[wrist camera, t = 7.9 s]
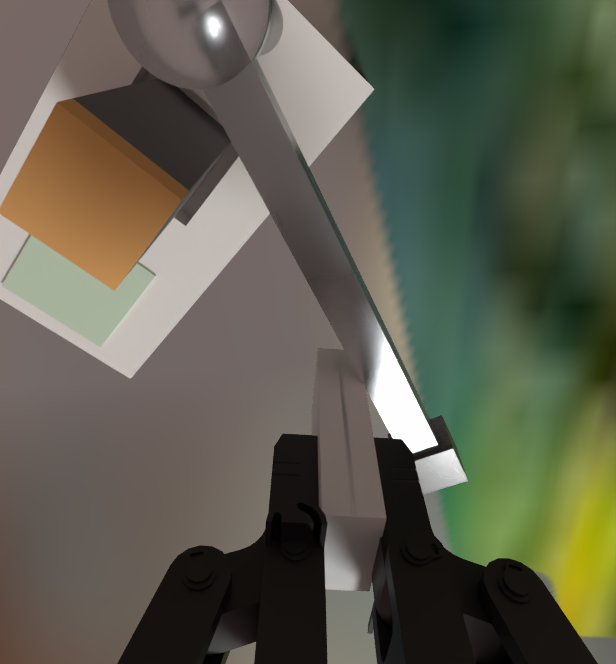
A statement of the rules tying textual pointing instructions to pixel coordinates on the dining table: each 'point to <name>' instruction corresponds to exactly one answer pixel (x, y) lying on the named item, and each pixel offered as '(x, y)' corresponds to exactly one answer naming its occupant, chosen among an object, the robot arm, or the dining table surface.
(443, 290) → the dining table surface
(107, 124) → the orange and black block
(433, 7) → the dining table surface
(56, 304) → the base plate with post
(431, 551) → the robot arm
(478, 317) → the dining table surface
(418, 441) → the bar
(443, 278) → the dining table surface
